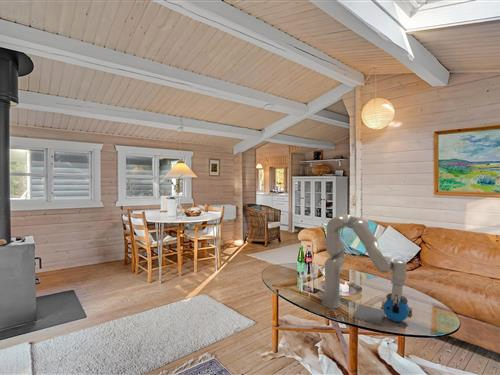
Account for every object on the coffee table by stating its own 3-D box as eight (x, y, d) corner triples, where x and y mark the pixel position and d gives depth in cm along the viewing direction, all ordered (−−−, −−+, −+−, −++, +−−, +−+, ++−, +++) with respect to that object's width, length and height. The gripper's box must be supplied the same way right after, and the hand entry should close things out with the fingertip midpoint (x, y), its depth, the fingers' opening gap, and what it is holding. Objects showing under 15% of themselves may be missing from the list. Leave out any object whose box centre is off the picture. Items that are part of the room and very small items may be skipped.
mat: (352, 317, 180) (352, 316, 179) (359, 305, 196) (359, 304, 196) (380, 325, 171) (380, 324, 171) (386, 312, 188) (386, 310, 188)
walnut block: (404, 315, 184) (404, 309, 184) (404, 312, 188) (405, 306, 187) (411, 317, 182) (411, 310, 182) (411, 314, 185) (412, 308, 185)
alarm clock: (408, 321, 176) (410, 296, 175) (406, 325, 171) (408, 299, 170) (384, 314, 183) (386, 290, 182) (382, 318, 178) (384, 293, 177)
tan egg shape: (380, 308, 193) (381, 301, 192) (382, 305, 197) (382, 298, 197) (389, 310, 190) (389, 303, 190) (390, 307, 194) (390, 300, 194)
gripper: (393, 275, 185) (391, 303, 186) (389, 283, 170) (387, 314, 171) (406, 278, 181) (404, 306, 182) (403, 287, 166) (401, 318, 167)
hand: (396, 310), depth 176 cm, fingers closed on alarm clock, 6 cm apart
